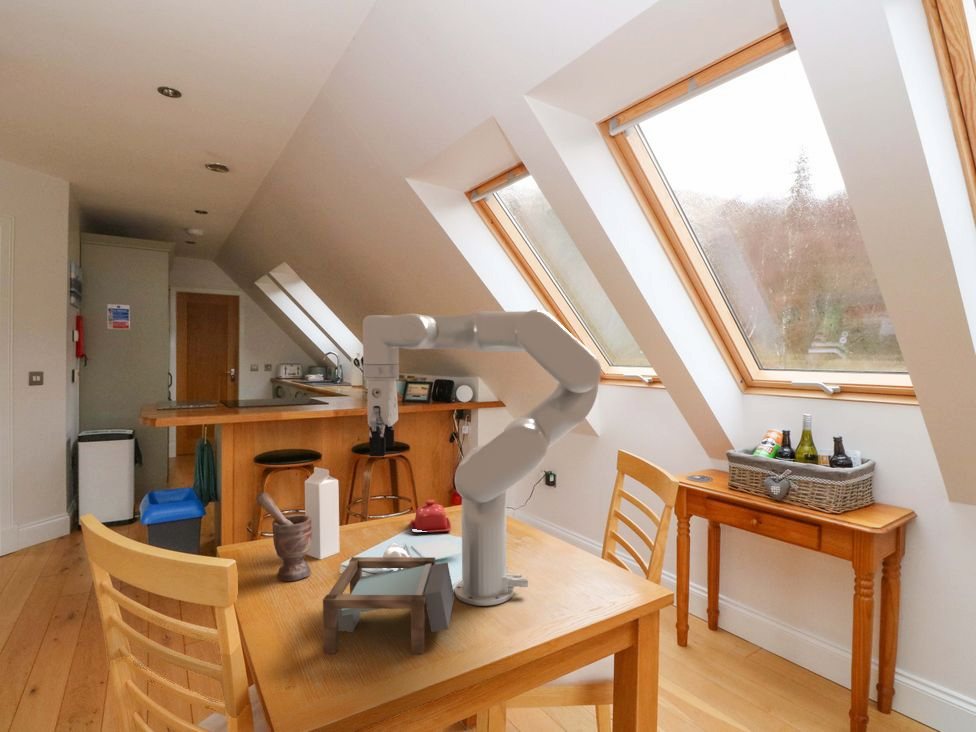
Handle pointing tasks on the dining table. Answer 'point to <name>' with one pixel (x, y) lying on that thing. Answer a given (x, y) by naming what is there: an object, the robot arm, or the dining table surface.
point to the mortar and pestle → (289, 539)
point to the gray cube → (347, 621)
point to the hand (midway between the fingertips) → (382, 451)
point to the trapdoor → (413, 590)
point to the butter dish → (431, 518)
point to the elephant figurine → (395, 551)
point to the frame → (373, 599)
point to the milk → (322, 513)
